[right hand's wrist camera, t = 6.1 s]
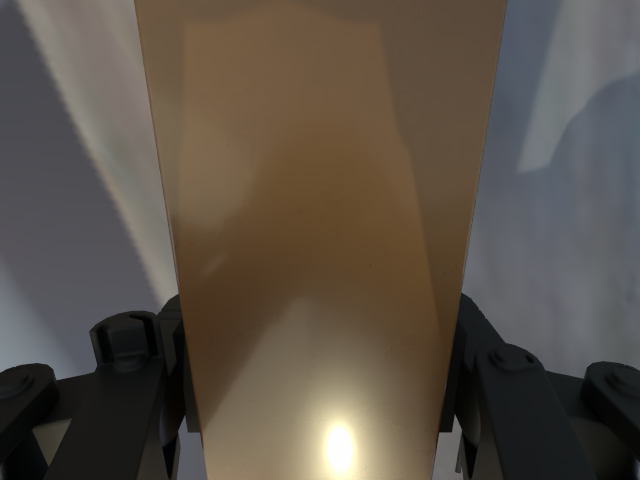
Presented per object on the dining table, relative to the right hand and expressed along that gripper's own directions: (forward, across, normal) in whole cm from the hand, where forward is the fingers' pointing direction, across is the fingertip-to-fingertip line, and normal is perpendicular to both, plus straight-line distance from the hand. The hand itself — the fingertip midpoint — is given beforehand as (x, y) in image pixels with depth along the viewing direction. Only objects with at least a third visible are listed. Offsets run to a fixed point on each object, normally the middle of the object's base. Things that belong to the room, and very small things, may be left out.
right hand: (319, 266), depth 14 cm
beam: (0, 0, -35) cm, 35 cm away
